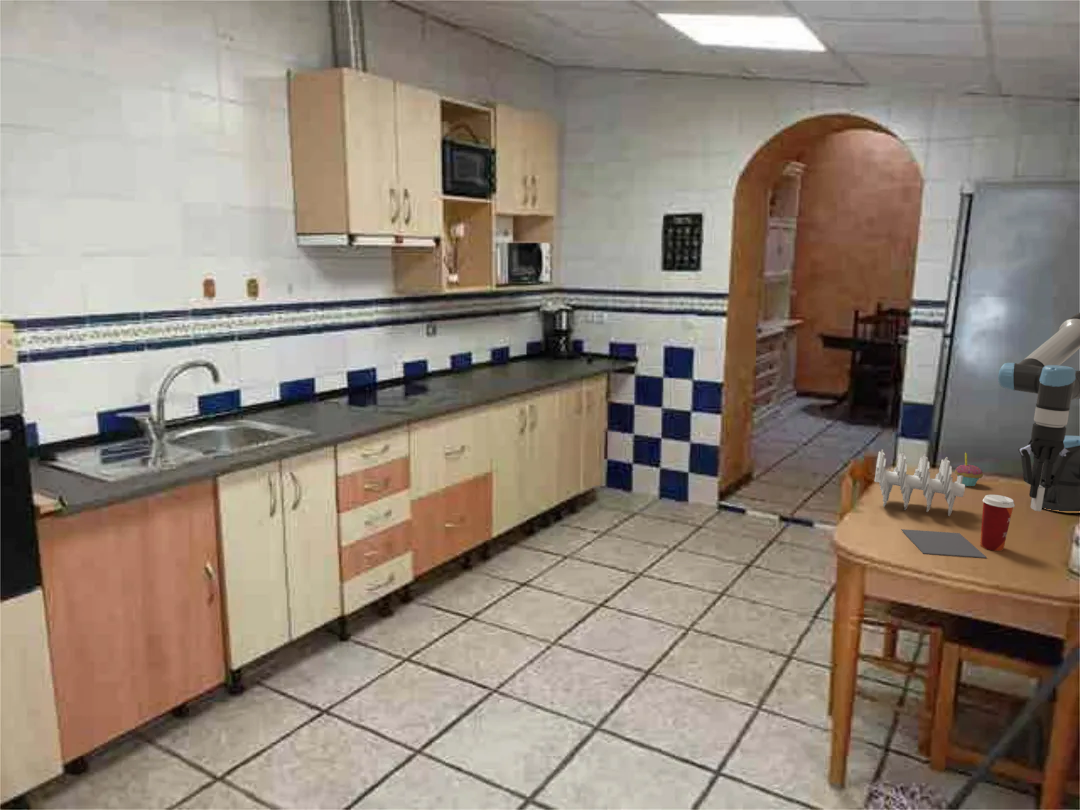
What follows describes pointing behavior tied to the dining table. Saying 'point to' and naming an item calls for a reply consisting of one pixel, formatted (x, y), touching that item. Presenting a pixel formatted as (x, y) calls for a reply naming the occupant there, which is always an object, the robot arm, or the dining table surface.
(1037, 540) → the dining table surface
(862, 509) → the dining table surface
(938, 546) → the mat
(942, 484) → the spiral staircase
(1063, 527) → the dining table surface
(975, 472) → the cupcake
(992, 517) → the paper cup
